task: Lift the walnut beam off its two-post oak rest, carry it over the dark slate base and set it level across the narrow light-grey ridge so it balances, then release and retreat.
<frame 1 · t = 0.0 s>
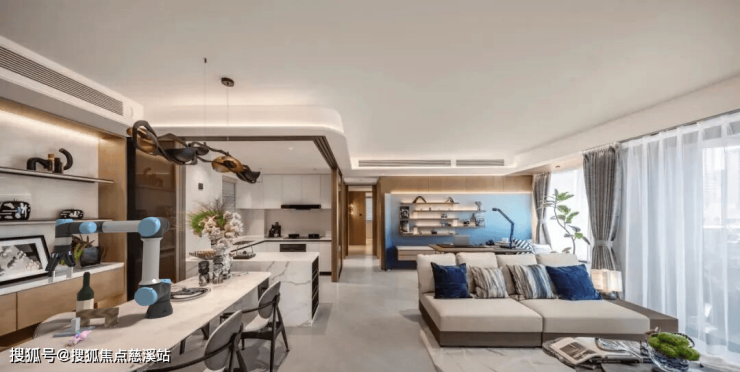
hand: (60, 280, 187), 28 cm above the table, fingers open, 13 cm apart
wine bottle: (84, 319, 200), on the table
walnut beam: (97, 317, 188), point 5 cm above the table, touching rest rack
fulcrum: (74, 332, 177), on the table
rabbit figure: (79, 341, 164), on the table
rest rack: (97, 325, 188), on the table
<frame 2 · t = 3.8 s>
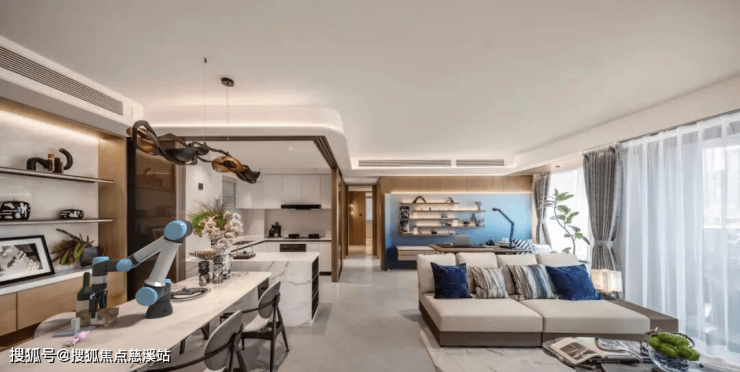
hand: (97, 321, 188), 2 cm above the table, fingers closed on walnut beam, 5 cm apart
walnut beam: (97, 317, 188), point 5 cm above the table, touching gripper, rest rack
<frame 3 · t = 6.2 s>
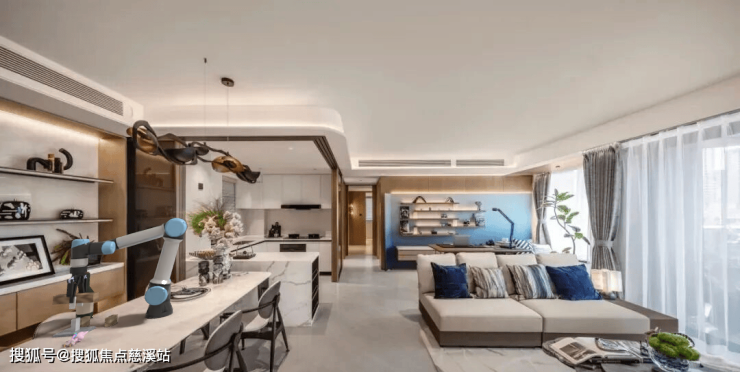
hand: (76, 307, 178), 14 cm above the table, fingers closed on walnut beam, 5 cm apart
walnut beam: (76, 302, 178), point 17 cm above the table, touching gripper
when the fingers open (6 cm above the table, at t = 8.4 s): walnut beam stays where it is, resting on fulcrum.
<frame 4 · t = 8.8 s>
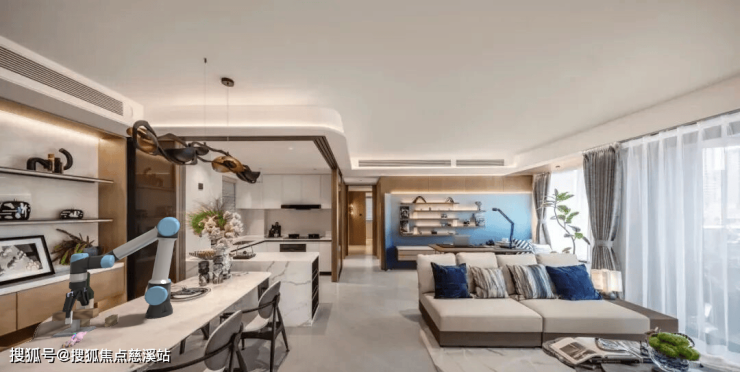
hand: (75, 320, 178), 7 cm above the table, fingers open, 10 cm apart
walnut beam: (75, 318, 178), point 8 cm above the table, touching fulcrum
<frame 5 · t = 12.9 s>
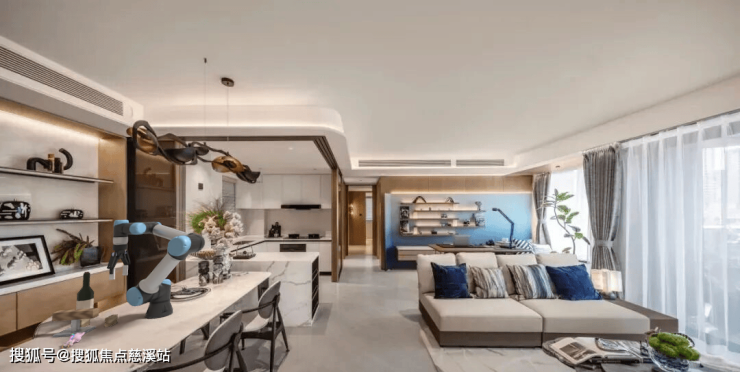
hand: (118, 277, 199), 27 cm above the table, fingers open, 13 cm apart
at the end: walnut beam 0.0 cm off-centre on the fulcrum, point 7.8 cm above the fulcrum's base; walnut beam tilted 0°; walnut beam touching fulcrum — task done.
